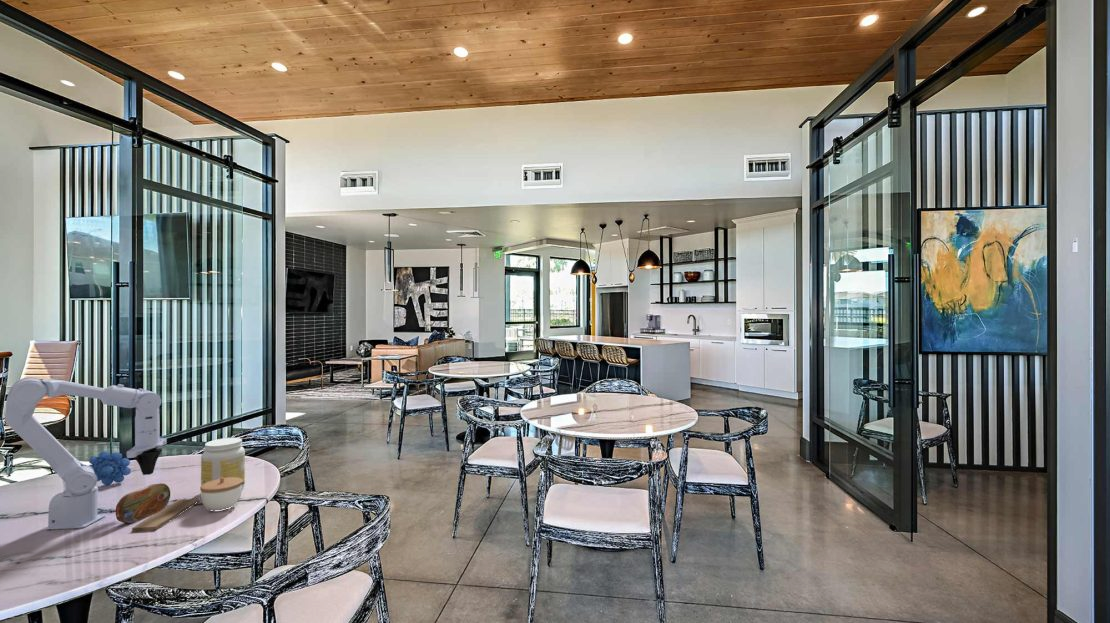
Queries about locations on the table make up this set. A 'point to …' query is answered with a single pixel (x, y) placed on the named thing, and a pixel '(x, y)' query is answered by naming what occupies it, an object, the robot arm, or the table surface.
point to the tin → (142, 503)
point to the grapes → (110, 467)
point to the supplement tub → (223, 460)
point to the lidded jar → (221, 493)
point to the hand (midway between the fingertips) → (147, 474)
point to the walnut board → (164, 515)
